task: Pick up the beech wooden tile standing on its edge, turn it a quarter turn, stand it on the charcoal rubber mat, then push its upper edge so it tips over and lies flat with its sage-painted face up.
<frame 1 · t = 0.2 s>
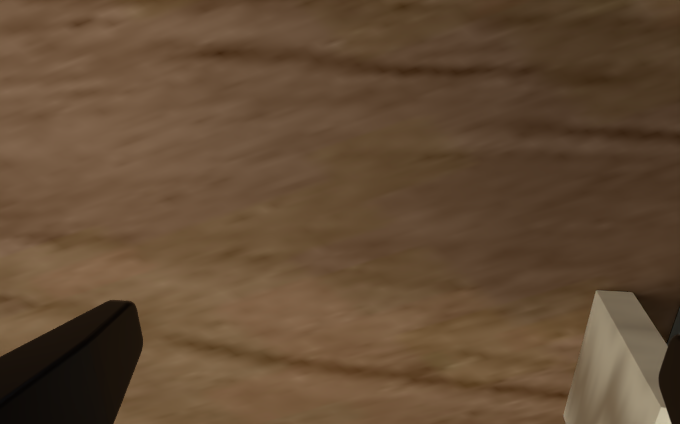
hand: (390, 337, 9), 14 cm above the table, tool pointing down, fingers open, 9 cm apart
tile: (595, 357, 26), on the table
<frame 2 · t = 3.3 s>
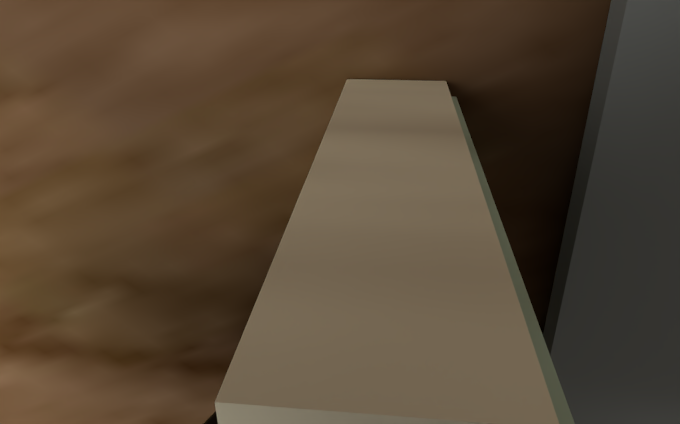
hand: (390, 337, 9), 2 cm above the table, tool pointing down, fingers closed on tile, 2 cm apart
tile: (387, 285, 11), on the table, touching gripper
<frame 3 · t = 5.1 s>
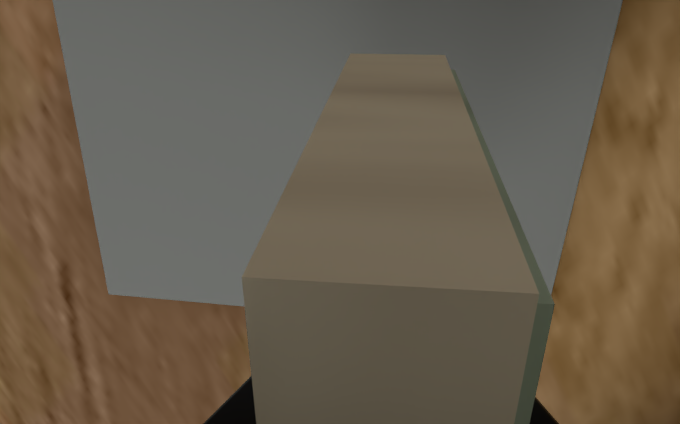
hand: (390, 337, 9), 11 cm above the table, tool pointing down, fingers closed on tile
mat: (323, 119, 19), on the table
tile: (388, 256, 11), point 9 cm above the table, touching gripper
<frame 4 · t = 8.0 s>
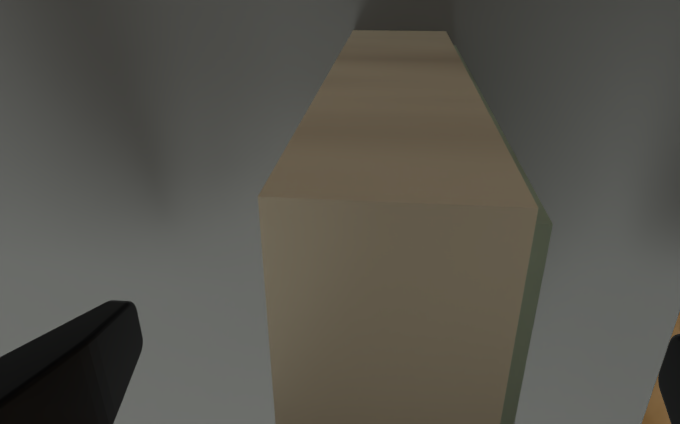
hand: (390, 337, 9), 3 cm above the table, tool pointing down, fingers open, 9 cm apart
mat: (259, 239, 12), on the table
tile: (390, 233, 11), point 1 cm above the table, touching mat
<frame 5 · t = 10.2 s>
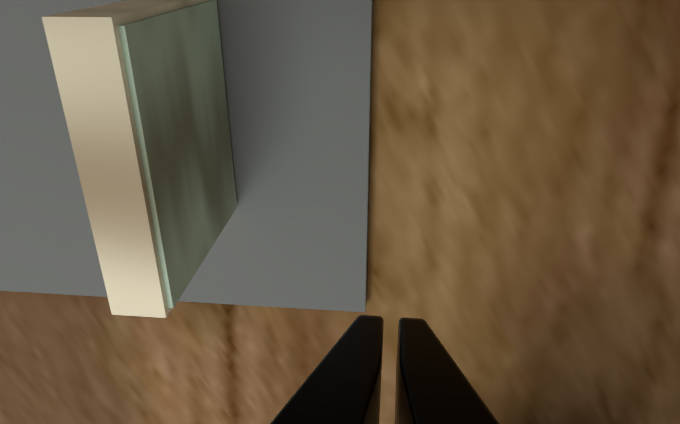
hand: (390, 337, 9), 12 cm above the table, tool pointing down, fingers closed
mat: (136, 120, 21), on the table
tile: (203, 110, 20), point 1 cm above the table, touching mat
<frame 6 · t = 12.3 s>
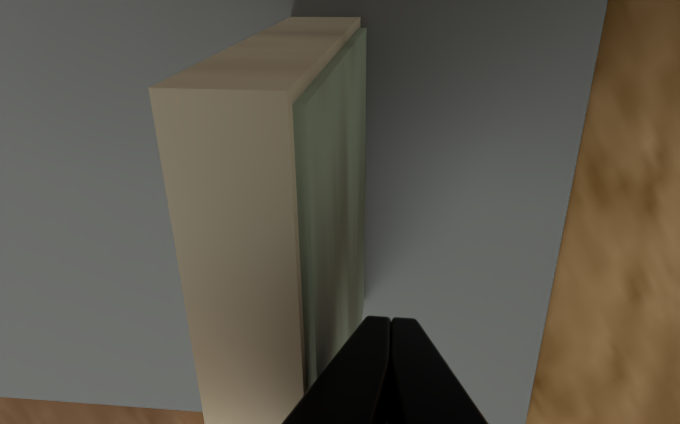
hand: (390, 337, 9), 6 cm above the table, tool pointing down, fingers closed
mat: (227, 189, 15), on the table
tile: (328, 180, 14), point 1 cm above the table, touching gripper, mat
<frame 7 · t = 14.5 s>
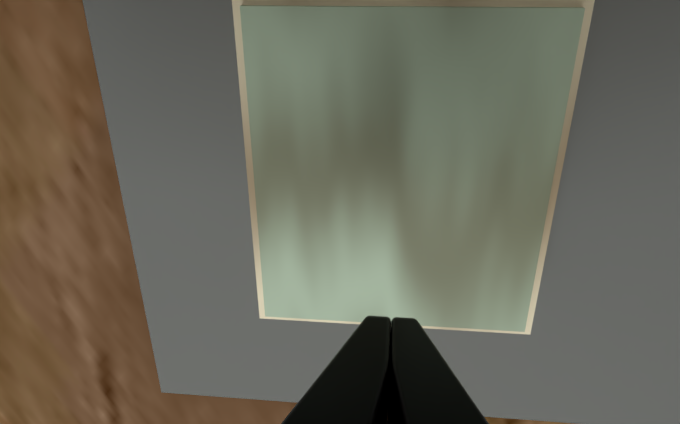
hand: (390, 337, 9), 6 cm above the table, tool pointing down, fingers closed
mat: (451, 175, 14), on the table
tile: (549, 176, 13), point 1 cm above the table, tilted 90°, touching mat
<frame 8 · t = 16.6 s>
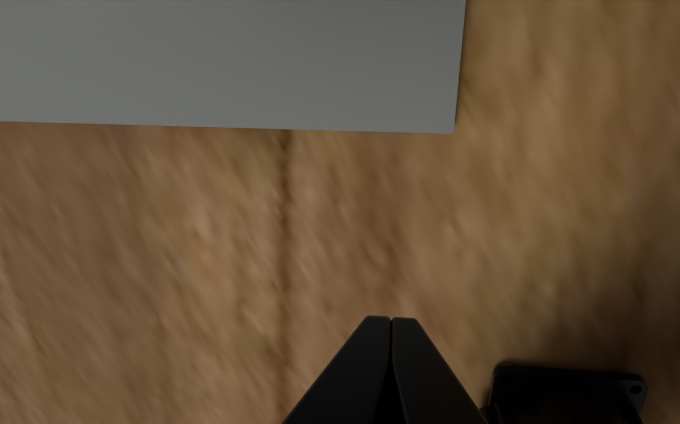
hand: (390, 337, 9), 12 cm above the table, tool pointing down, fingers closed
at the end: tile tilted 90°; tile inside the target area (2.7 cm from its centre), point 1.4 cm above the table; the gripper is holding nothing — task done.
